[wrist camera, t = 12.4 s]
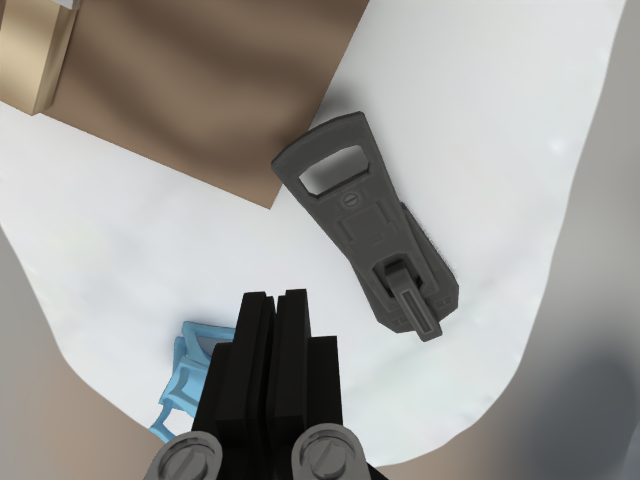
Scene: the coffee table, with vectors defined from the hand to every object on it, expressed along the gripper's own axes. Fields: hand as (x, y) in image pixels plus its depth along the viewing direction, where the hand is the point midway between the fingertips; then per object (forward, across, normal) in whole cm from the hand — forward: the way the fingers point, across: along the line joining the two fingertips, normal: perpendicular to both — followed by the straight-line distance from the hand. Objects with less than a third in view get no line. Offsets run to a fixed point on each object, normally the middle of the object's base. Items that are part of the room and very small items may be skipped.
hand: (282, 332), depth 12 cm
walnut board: (+27, +8, -7) cm, 29 cm away
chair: (+27, +12, +25) cm, 39 cm away
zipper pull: (+27, -6, +12) cm, 30 cm away
